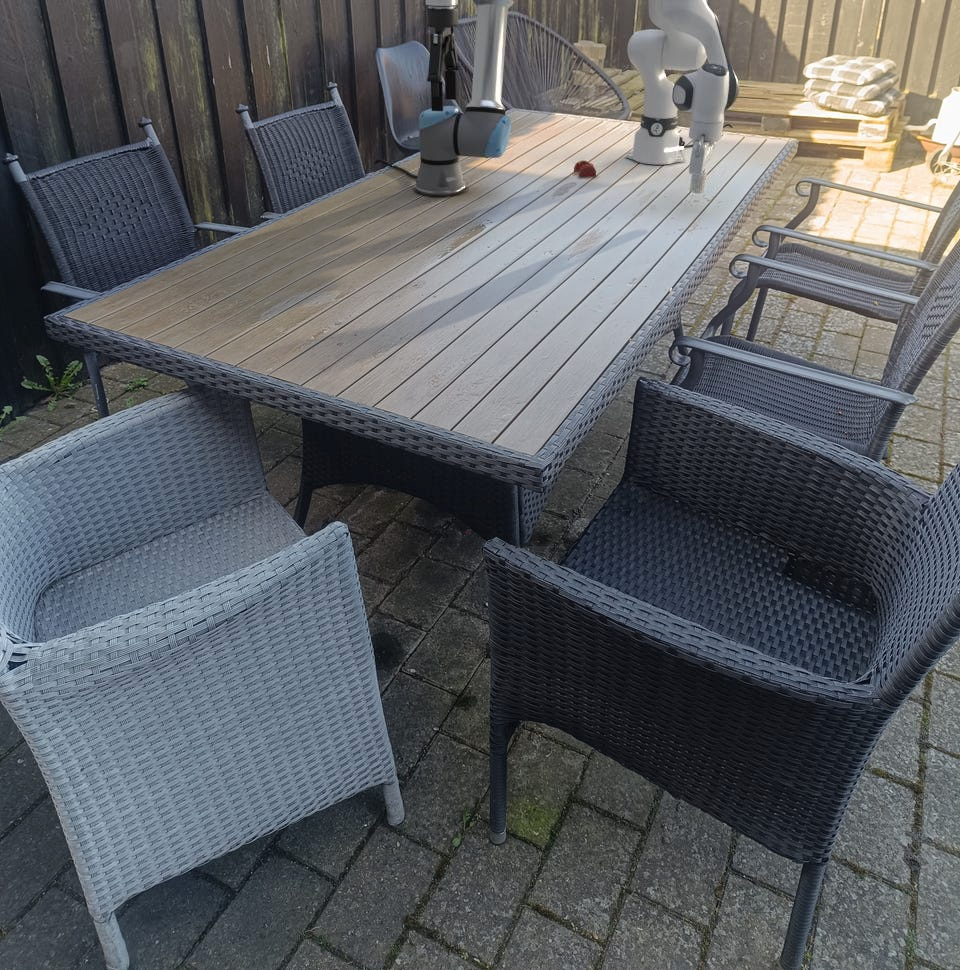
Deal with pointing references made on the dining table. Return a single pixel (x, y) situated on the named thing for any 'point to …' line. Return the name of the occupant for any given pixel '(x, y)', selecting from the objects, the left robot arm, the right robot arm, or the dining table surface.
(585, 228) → the dining table surface
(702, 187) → the can
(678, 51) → the right robot arm
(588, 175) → the dark red lumpy piece
